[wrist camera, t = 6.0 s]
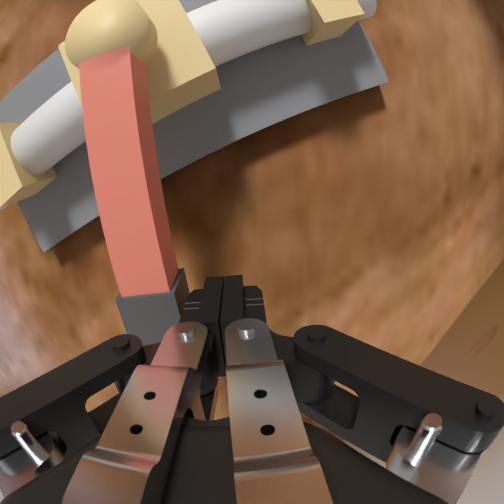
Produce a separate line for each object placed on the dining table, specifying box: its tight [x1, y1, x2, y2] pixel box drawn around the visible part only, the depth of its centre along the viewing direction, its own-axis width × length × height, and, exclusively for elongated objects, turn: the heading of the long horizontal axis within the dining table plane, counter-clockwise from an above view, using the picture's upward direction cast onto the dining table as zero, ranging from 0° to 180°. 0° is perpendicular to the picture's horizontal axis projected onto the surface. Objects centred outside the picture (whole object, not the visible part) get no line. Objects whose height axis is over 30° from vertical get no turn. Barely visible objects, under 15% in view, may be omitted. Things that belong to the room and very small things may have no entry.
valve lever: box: [65, 0, 190, 346], centre depth 11 cm, size 17×3×2 cm, turn 7°
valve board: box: [0, 0, 389, 253], centre depth 13 cm, size 26×12×7 cm, turn 115°
